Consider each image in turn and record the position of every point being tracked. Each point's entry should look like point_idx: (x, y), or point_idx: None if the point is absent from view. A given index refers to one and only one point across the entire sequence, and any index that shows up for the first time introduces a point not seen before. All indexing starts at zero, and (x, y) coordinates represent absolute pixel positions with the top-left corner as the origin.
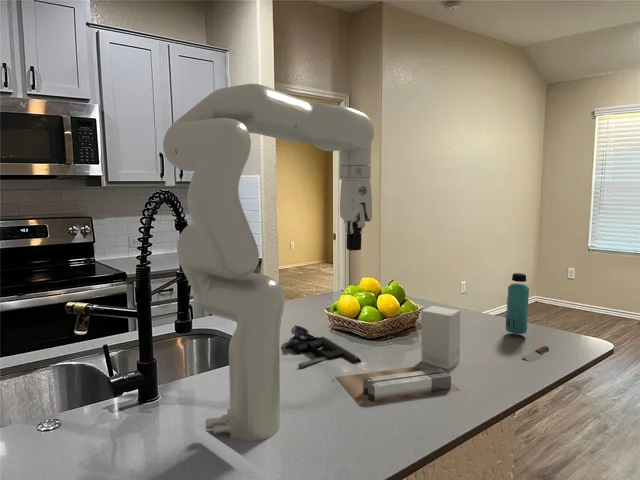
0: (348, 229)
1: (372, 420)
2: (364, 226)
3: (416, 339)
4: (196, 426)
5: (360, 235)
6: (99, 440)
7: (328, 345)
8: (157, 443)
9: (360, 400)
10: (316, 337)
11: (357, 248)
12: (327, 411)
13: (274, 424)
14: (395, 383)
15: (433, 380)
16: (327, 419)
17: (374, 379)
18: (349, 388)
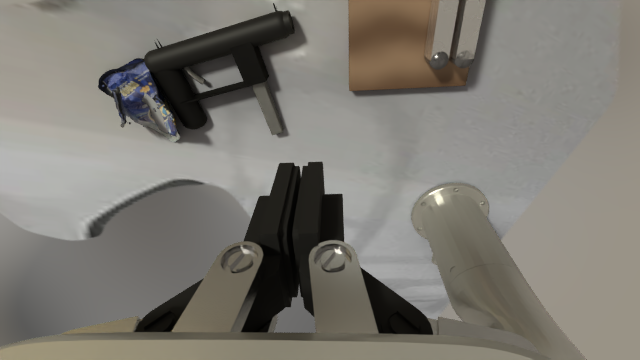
0: (271, 328)
1: (493, 69)
2: (525, 343)
3: None
4: (404, 254)
5: (318, 228)
6: None
7: (196, 62)
8: (421, 279)
9: (450, 76)
10: (124, 66)
11: (323, 185)
12: (435, 126)
13: (481, 210)
14: (482, 8)
15: None
16: (456, 132)
17: (445, 46)
18: (401, 80)
